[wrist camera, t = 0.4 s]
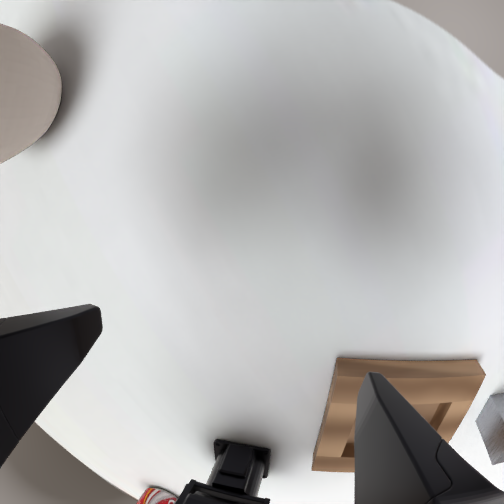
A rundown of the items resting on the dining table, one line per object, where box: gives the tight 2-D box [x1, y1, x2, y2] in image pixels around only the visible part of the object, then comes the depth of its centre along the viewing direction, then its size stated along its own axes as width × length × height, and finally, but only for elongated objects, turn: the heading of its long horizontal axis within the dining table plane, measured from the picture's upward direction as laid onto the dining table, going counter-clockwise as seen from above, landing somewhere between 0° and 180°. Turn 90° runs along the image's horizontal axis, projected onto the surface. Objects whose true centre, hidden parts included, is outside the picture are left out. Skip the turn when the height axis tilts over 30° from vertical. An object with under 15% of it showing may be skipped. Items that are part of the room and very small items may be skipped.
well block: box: [311, 358, 486, 472], centre depth 23 cm, size 14×14×2 cm
